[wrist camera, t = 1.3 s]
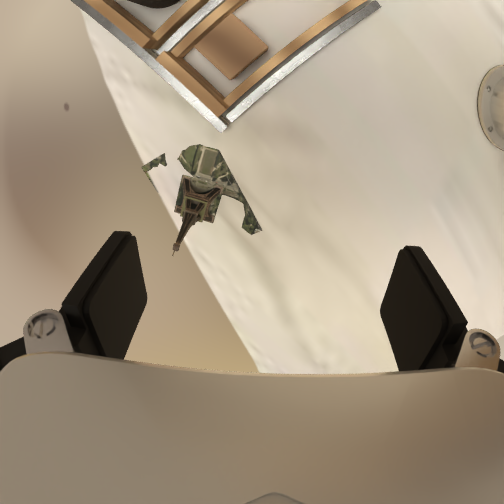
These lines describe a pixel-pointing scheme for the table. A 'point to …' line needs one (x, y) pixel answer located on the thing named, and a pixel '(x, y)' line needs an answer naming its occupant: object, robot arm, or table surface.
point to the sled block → (220, 104)
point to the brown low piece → (137, 30)
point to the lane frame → (194, 21)
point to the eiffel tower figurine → (204, 189)
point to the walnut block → (231, 46)
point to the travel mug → (155, 3)
